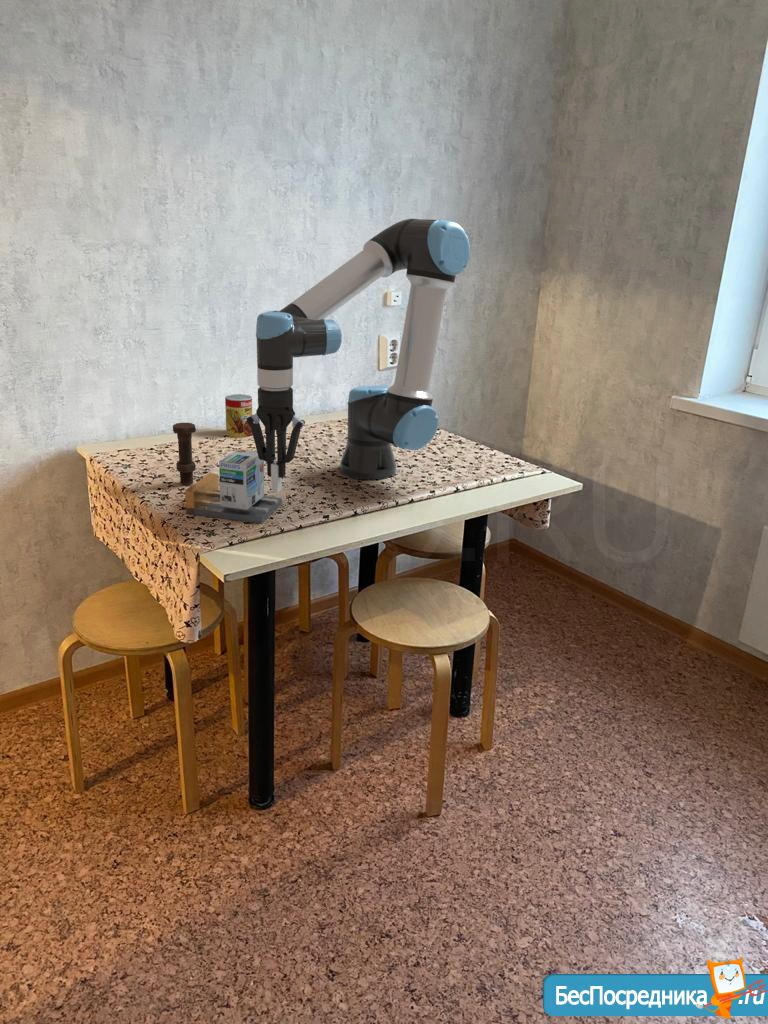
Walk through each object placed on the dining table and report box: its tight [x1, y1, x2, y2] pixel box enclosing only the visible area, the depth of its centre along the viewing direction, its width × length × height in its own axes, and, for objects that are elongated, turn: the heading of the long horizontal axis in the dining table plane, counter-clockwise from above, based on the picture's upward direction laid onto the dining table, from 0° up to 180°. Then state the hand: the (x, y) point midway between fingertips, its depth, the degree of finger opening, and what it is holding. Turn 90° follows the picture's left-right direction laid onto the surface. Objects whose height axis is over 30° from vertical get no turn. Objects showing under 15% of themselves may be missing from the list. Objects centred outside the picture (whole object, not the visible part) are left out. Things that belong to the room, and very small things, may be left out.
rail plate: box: [184, 472, 283, 525], centre depth 177 cm, size 18×13×6 cm
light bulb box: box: [218, 448, 265, 510], centre depth 175 cm, size 11×7×11 cm, turn 166°
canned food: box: [224, 393, 253, 439], centre depth 232 cm, size 8×8×12 cm
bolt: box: [172, 422, 197, 486], centre depth 189 cm, size 6×5×15 cm
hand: (276, 490), depth 174 cm, fingers closed
